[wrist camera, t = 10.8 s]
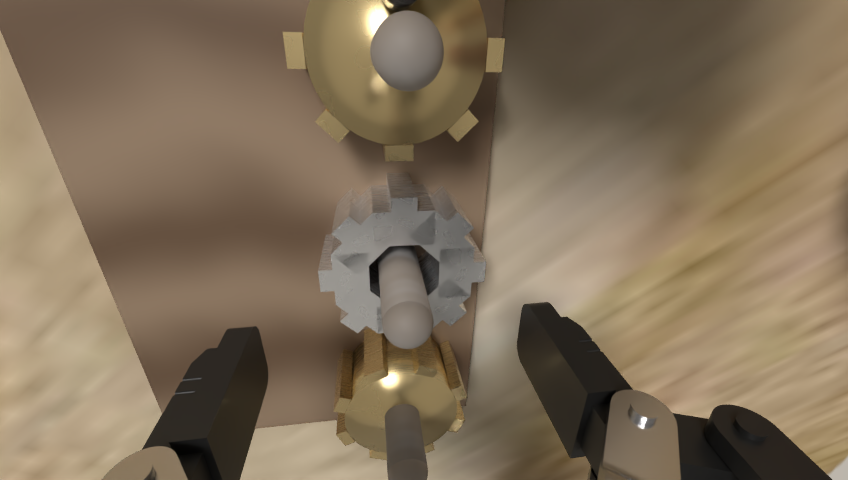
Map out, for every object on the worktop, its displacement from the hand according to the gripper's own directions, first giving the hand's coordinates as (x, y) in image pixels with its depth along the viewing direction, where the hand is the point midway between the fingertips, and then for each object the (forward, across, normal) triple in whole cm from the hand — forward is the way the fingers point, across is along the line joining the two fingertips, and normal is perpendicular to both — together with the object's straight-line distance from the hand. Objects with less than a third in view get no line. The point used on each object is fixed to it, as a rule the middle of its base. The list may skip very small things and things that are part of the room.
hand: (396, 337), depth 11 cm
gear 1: (+6, 0, -8) cm, 10 cm away
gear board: (+7, +4, 0) cm, 8 cm away
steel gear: (+6, 0, 0) cm, 6 cm away
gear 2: (+6, 0, +7) cm, 9 cm away
